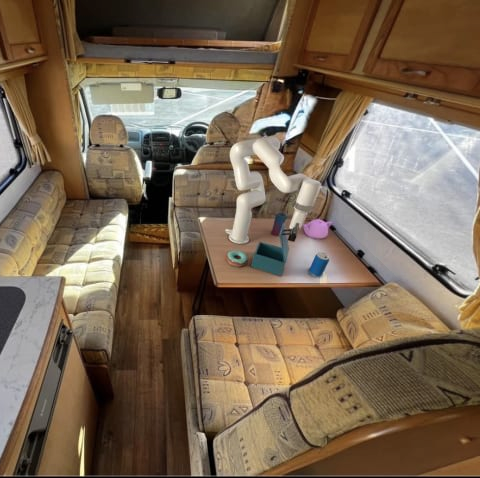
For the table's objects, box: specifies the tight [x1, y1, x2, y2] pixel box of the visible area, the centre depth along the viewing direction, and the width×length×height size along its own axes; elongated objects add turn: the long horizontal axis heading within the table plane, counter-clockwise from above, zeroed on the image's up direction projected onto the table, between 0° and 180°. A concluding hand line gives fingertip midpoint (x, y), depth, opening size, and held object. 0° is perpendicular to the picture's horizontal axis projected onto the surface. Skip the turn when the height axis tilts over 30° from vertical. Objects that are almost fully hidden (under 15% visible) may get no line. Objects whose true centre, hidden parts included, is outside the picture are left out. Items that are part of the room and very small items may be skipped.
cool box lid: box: [278, 222, 294, 264], centre depth 133 cm, size 16×14×6 cm
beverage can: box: [308, 252, 330, 277], centre depth 137 cm, size 6×6×12 cm
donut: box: [226, 250, 249, 268], centre depth 147 cm, size 12×12×4 cm
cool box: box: [250, 241, 286, 277], centre depth 144 cm, size 16×14×9 cm
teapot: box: [302, 218, 333, 240], centre depth 169 cm, size 14×20×11 cm
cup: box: [271, 210, 289, 237], centre depth 167 cm, size 7×7×15 cm
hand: (291, 237), depth 132 cm, fingers closed on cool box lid, 5 cm apart
